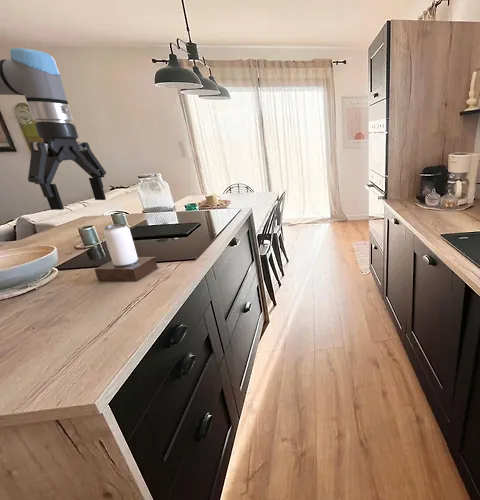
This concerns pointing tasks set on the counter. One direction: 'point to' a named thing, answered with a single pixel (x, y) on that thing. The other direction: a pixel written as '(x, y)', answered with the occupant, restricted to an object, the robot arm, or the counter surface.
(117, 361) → the counter surface
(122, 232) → the can
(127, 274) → the walnut block
